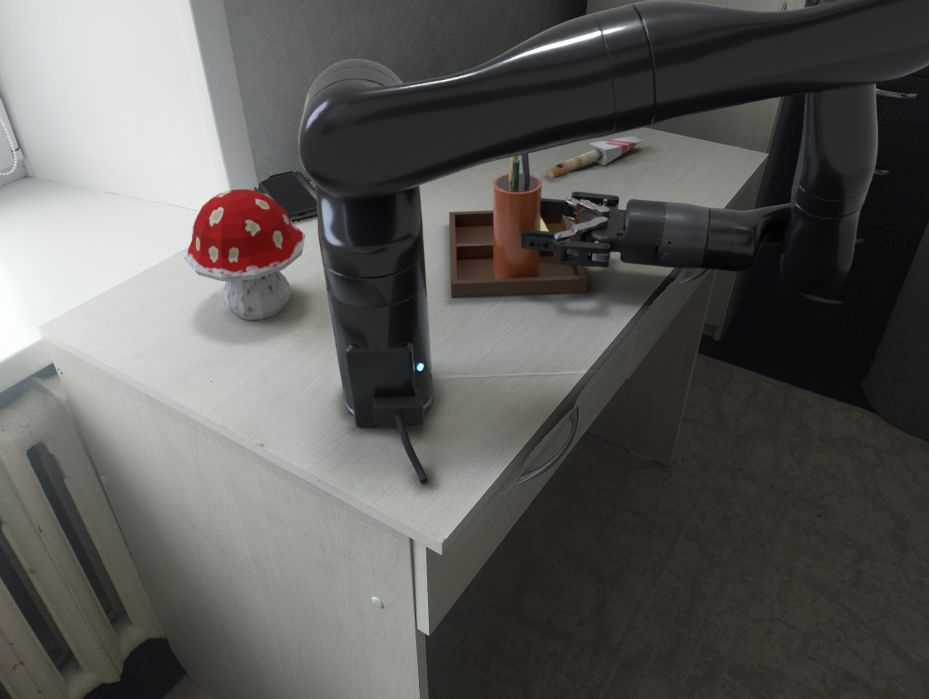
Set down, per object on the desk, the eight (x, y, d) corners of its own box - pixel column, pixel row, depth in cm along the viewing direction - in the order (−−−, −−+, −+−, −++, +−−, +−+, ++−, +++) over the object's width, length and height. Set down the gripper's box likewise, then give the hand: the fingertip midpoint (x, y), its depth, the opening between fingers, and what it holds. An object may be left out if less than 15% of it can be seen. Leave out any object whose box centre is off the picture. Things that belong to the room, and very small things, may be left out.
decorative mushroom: (305, 267, 100) (286, 160, 91) (327, 323, 89) (308, 208, 80) (197, 289, 96) (165, 180, 87) (206, 350, 86) (172, 233, 76)
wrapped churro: (647, 133, 126) (557, 169, 117) (645, 148, 128) (557, 185, 119) (630, 126, 129) (541, 161, 120) (629, 141, 130) (541, 177, 122)
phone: (298, 169, 122) (328, 205, 112) (299, 175, 123) (329, 212, 112) (250, 179, 120) (276, 217, 109) (252, 186, 120) (277, 224, 110)
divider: (569, 255, 100) (570, 242, 98) (456, 259, 99) (456, 246, 98) (568, 252, 100) (569, 239, 99) (456, 256, 100) (456, 243, 99)
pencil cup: (540, 285, 94) (546, 161, 84) (494, 286, 94) (494, 163, 84) (536, 261, 98) (540, 141, 89) (491, 263, 98) (491, 143, 89)
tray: (586, 296, 93) (587, 278, 91) (451, 300, 92) (450, 283, 91) (565, 223, 108) (566, 207, 106) (449, 227, 108) (449, 211, 106)
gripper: (670, 179, 91) (537, 169, 95) (667, 234, 80) (517, 221, 84) (661, 234, 96) (535, 223, 99) (658, 293, 85) (516, 278, 88)
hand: (527, 222), depth 91 cm, fingers open, 8 cm apart
